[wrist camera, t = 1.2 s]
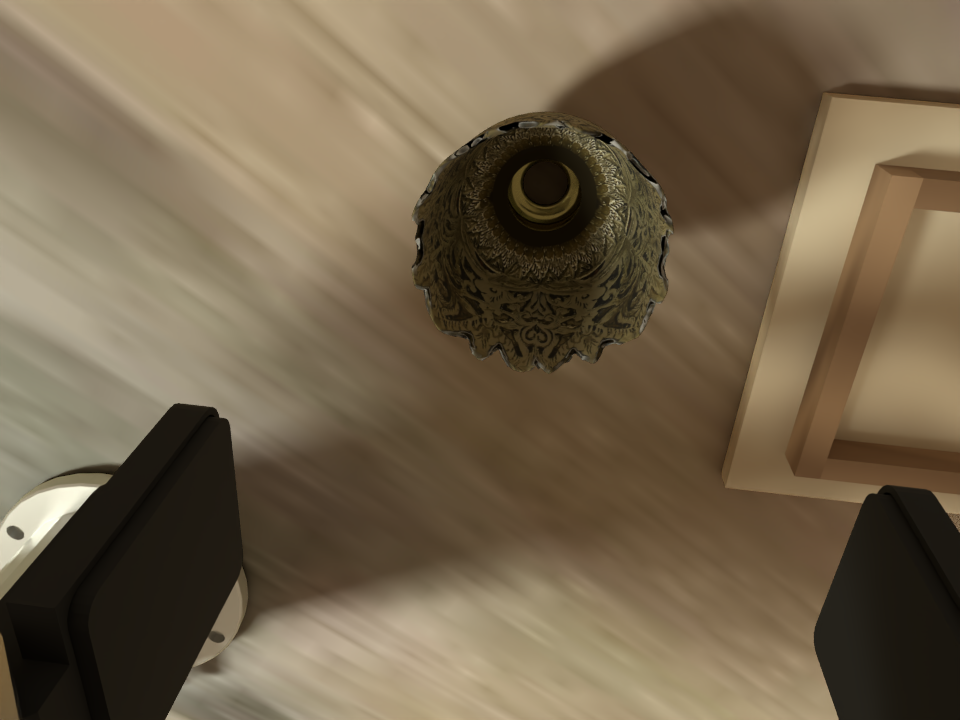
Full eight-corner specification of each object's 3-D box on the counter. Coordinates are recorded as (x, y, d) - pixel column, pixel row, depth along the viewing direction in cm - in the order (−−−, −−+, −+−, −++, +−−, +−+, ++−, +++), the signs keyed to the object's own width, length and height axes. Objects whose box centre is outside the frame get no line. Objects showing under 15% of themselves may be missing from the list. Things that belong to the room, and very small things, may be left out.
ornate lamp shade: (629, 286, 30) (649, 389, 23) (441, 267, 31) (405, 362, 24) (664, 86, 27) (700, 137, 20) (452, 67, 27) (413, 110, 20)
